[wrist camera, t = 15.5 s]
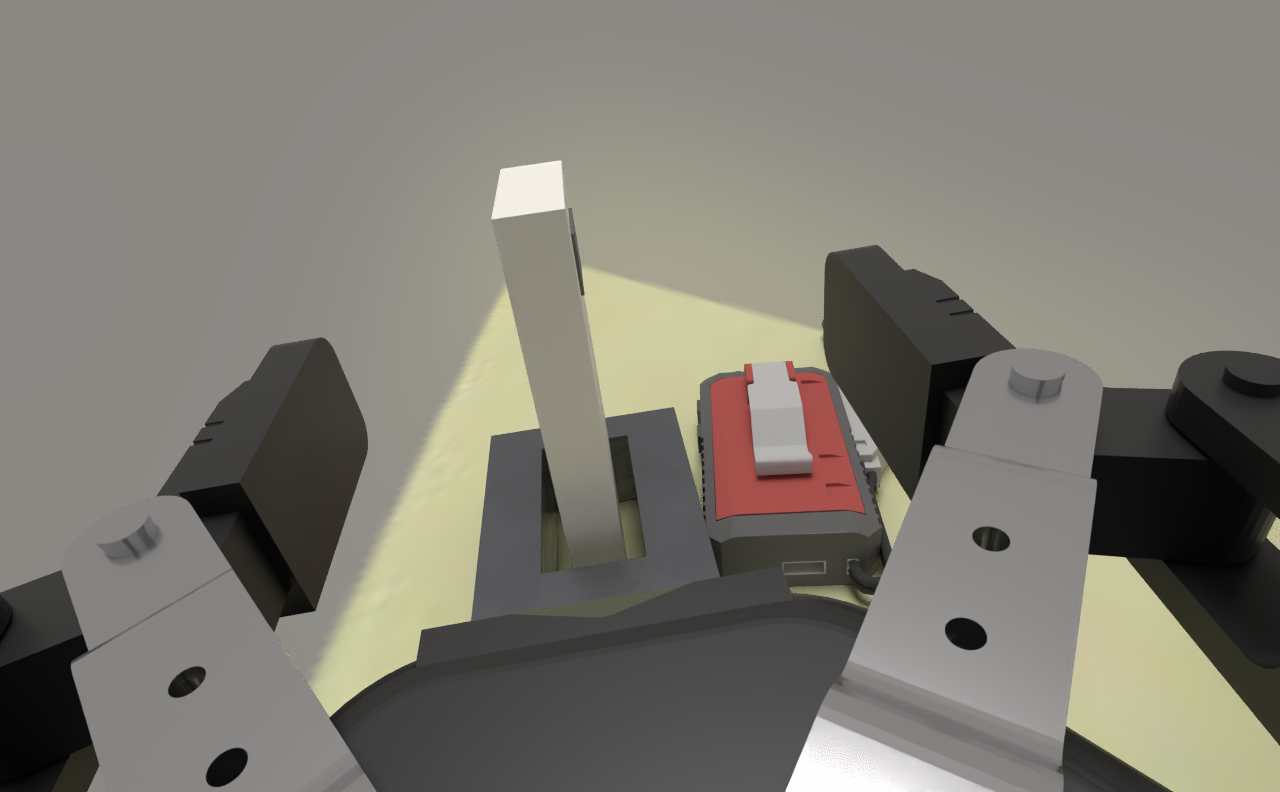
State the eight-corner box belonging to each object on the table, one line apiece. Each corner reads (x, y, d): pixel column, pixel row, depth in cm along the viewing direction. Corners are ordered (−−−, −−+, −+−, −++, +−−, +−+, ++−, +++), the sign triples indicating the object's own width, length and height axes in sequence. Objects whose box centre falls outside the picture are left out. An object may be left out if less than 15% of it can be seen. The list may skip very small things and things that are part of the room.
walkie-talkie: (951, 614, 26) (848, 338, 42) (968, 523, 23) (851, 269, 40) (703, 621, 26) (698, 349, 43) (694, 535, 24) (692, 281, 41)
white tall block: (633, 587, 28) (568, 208, 19) (579, 596, 28) (491, 219, 19) (621, 501, 32) (564, 159, 24) (574, 509, 32) (500, 169, 24)
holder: (725, 649, 25) (720, 579, 23) (496, 687, 25) (471, 620, 23) (680, 469, 33) (673, 407, 31) (508, 496, 33) (491, 435, 31)
